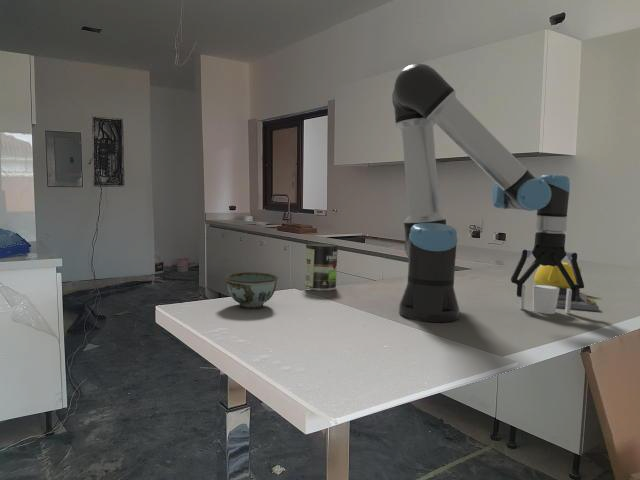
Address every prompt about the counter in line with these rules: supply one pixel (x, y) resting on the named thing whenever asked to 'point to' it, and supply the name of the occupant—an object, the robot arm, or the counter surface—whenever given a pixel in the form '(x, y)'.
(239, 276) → the bowl
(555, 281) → the teapot
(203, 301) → the counter surface
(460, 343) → the counter surface
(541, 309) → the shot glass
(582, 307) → the chassis plate
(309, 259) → the coffee can
